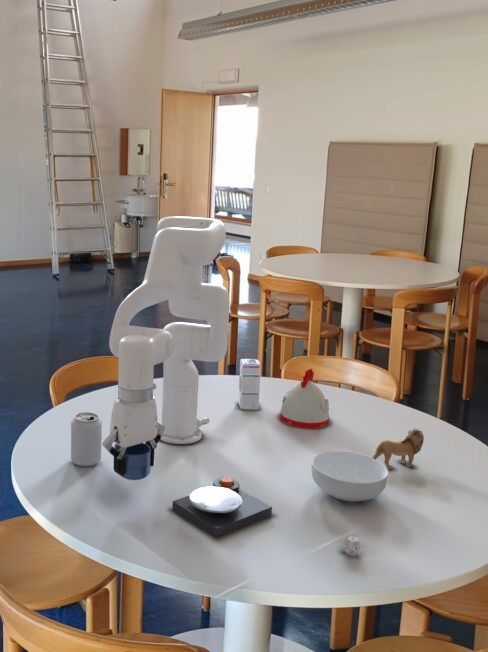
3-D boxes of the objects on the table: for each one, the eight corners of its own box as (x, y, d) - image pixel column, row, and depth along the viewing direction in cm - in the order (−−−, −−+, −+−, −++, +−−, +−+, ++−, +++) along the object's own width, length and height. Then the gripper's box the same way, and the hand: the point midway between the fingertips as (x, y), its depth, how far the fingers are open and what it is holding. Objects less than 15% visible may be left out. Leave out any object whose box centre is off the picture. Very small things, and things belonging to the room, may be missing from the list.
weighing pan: (216, 484, 159) (216, 482, 158) (252, 503, 150) (252, 501, 150) (179, 497, 152) (179, 495, 152) (214, 518, 143) (214, 516, 143)
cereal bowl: (344, 518, 152) (347, 487, 151) (294, 485, 167) (296, 457, 165) (402, 502, 160) (405, 473, 158) (349, 473, 174) (351, 446, 173)
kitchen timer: (334, 417, 211) (339, 369, 208) (319, 432, 200) (323, 381, 197) (290, 408, 219) (293, 361, 215) (272, 421, 207) (276, 371, 204)
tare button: (226, 481, 161) (226, 475, 161) (235, 485, 159) (235, 480, 159) (217, 484, 159) (217, 478, 159) (226, 488, 157) (226, 483, 157)
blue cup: (137, 463, 162) (137, 439, 161) (156, 475, 157) (157, 450, 155) (111, 471, 158) (111, 446, 157) (130, 484, 153) (130, 458, 151)
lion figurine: (411, 457, 184) (415, 425, 183) (426, 466, 180) (430, 432, 178) (364, 464, 179) (368, 430, 178) (378, 473, 174) (381, 438, 173)
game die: (341, 555, 138) (342, 541, 137) (343, 546, 141) (344, 532, 141) (359, 559, 137) (361, 545, 136) (361, 550, 140) (362, 536, 139)
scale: (225, 489, 164) (226, 475, 163) (272, 515, 153) (273, 500, 152) (171, 509, 154) (171, 494, 153) (216, 538, 143) (217, 522, 142)
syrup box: (258, 410, 216) (262, 364, 213) (239, 409, 216) (242, 363, 213) (256, 403, 222) (259, 358, 219) (237, 403, 222) (240, 358, 219)
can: (96, 469, 172) (97, 422, 170) (66, 466, 173) (67, 419, 171) (104, 457, 179) (105, 412, 177) (75, 454, 181) (76, 409, 178)
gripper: (156, 380, 161) (154, 453, 165) (92, 395, 151) (91, 472, 155) (177, 390, 155) (175, 465, 159) (112, 406, 145) (111, 486, 149)
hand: (134, 468), depth 157 cm, fingers closed on blue cup, 7 cm apart
